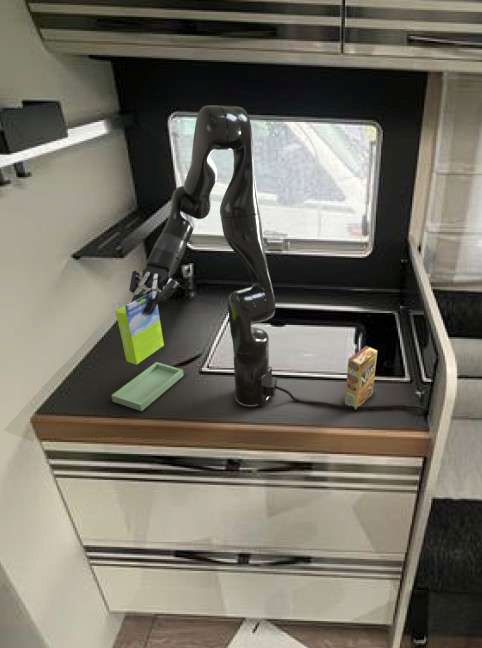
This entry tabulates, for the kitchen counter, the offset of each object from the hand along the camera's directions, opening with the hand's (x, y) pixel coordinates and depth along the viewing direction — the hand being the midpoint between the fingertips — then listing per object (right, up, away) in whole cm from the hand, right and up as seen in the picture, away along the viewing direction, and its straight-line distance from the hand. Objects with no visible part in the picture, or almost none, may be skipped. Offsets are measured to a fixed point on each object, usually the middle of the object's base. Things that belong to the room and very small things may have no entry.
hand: (140, 311), depth 103 cm
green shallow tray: (-2, -22, +9) cm, 24 cm away
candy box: (+57, -26, +11) cm, 64 cm away
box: (-1, -12, +5) cm, 13 cm away
